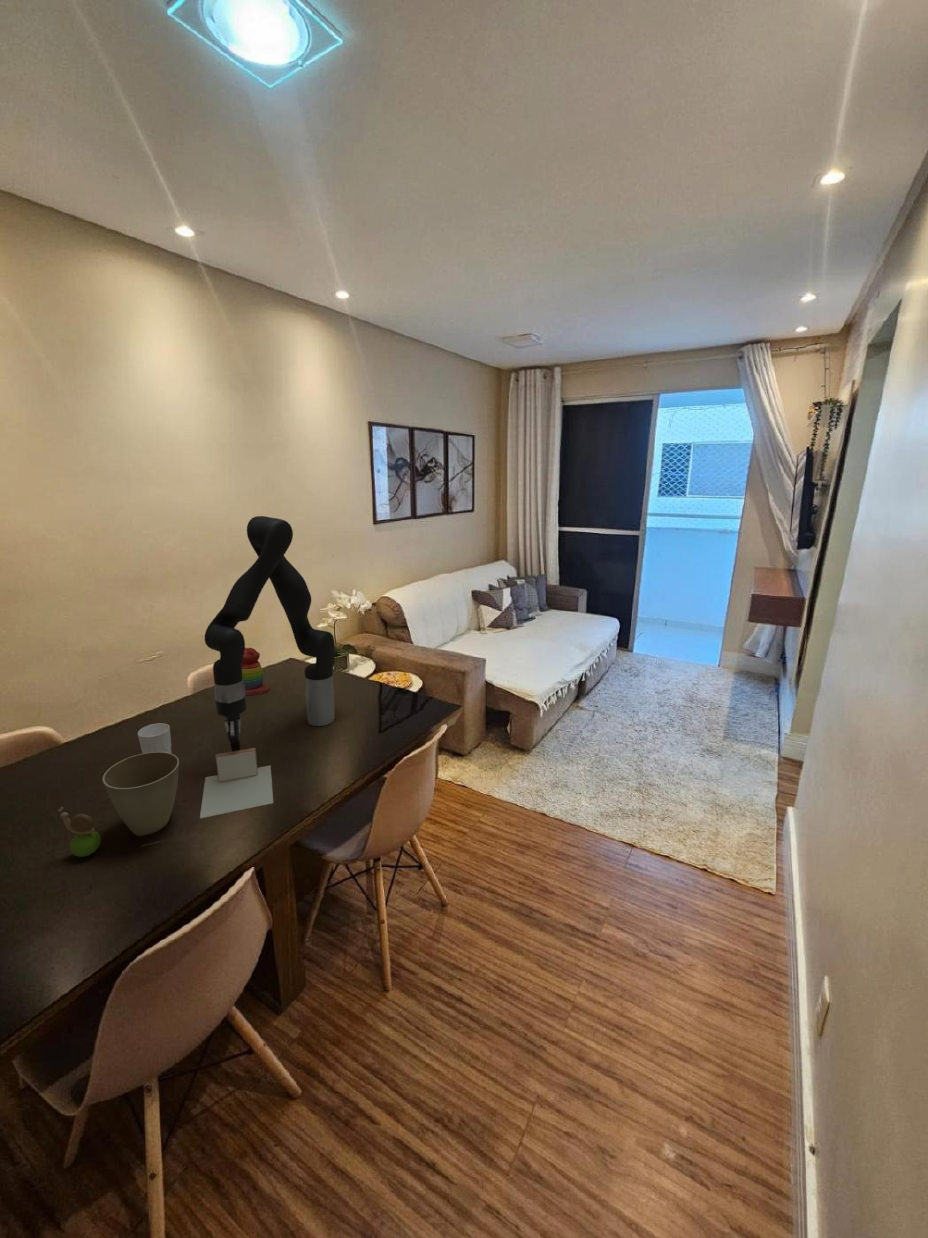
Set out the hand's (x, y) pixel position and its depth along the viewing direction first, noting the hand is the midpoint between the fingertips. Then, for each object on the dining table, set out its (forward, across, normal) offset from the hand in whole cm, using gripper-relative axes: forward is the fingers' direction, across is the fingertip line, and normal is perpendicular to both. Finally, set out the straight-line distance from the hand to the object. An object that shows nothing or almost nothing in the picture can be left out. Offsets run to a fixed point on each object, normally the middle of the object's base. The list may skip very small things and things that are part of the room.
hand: (236, 750), depth 137 cm
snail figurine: (+7, +22, -31) cm, 39 cm away
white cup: (+7, -14, -22) cm, 27 cm away
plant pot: (+7, +17, -19) cm, 26 cm away
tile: (+6, +4, 0) cm, 7 cm away
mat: (+7, +10, 0) cm, 12 cm away
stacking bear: (+7, -56, +4) cm, 56 cm away
